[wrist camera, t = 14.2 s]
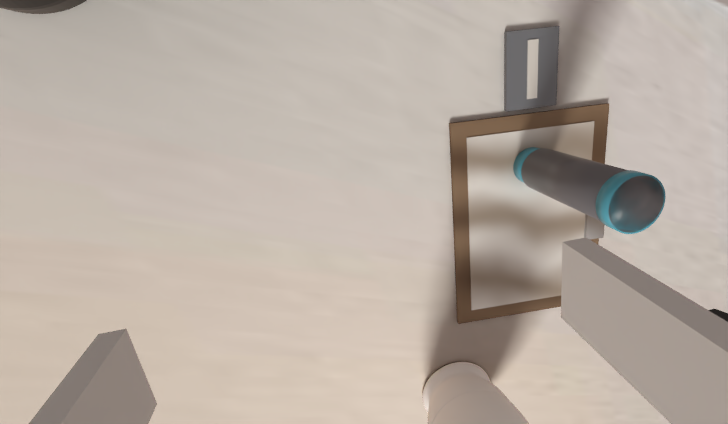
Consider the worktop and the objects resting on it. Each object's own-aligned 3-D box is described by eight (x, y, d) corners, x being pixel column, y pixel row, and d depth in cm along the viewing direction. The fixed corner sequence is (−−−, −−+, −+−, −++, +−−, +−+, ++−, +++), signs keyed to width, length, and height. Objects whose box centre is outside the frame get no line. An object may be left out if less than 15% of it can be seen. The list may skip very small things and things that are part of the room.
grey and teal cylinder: (510, 147, 40) (609, 178, 27) (551, 141, 41) (668, 170, 27) (510, 188, 42) (604, 238, 28) (549, 182, 42) (661, 228, 29)
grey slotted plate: (504, 32, 37) (507, 31, 37) (556, 26, 38) (559, 25, 37) (504, 111, 40) (506, 111, 39) (553, 104, 40) (556, 105, 40)
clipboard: (449, 123, 39) (452, 124, 39) (608, 103, 41) (614, 103, 40) (457, 321, 46) (460, 326, 45) (593, 298, 48) (598, 302, 47)
